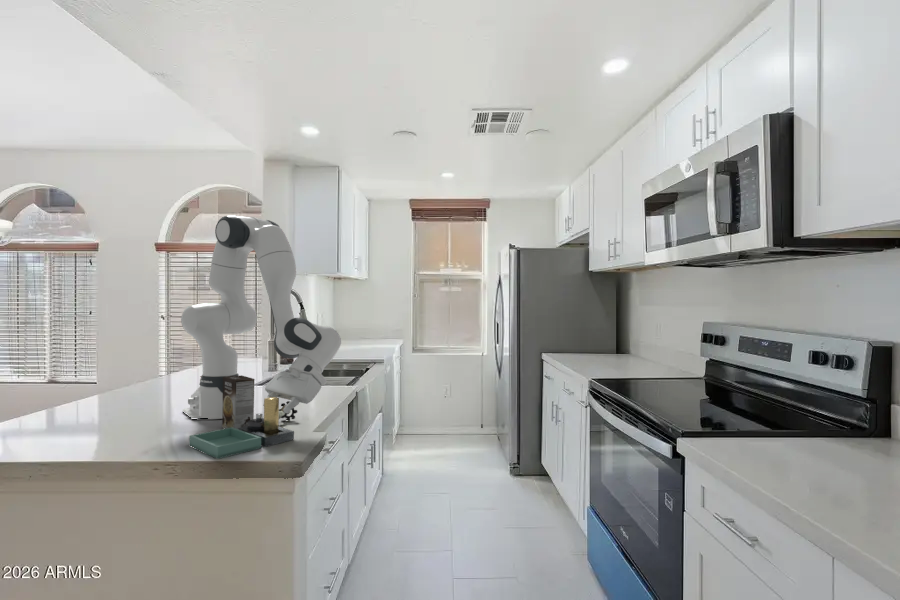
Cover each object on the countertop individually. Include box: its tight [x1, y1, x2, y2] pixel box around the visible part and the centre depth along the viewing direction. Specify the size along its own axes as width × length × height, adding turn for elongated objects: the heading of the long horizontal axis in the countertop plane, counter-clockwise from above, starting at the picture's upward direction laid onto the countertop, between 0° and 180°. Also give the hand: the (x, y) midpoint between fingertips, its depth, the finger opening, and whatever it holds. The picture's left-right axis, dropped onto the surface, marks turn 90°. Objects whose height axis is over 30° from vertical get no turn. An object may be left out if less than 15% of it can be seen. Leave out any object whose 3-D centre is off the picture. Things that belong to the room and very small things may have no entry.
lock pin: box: [263, 397, 280, 435], centre depth 142 cm, size 4×4×12 cm
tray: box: [188, 427, 262, 459], centre depth 135 cm, size 16×12×3 cm
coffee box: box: [221, 375, 255, 429], centre depth 154 cm, size 9×6×16 cm
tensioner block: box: [238, 413, 295, 448], centre depth 144 cm, size 15×9×6 cm, turn 51°
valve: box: [279, 400, 298, 421], centre depth 160 cm, size 7×7×12 cm
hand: (274, 409), depth 143 cm, fingers open, 8 cm apart
